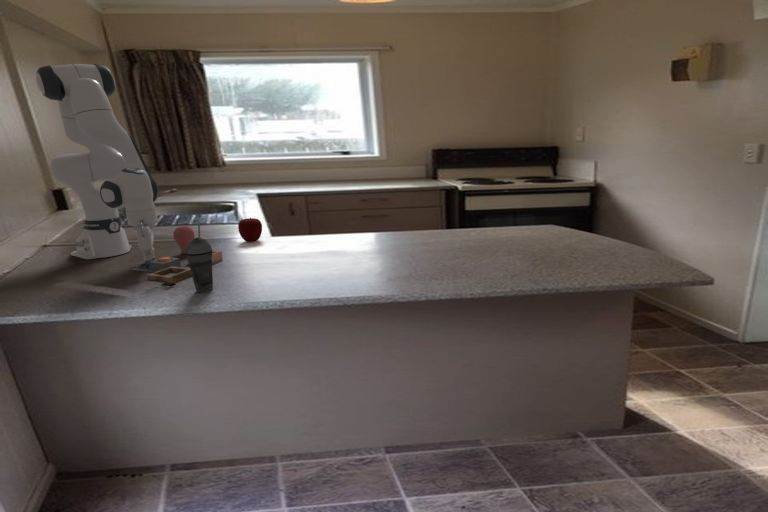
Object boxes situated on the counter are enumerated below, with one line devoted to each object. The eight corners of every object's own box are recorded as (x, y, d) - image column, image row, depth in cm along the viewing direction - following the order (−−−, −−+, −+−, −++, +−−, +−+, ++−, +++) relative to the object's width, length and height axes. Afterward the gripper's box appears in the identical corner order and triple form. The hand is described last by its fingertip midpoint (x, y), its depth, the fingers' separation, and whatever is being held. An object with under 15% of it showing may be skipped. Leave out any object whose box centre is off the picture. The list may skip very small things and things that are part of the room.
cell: (142, 266, 154) (139, 247, 152) (152, 264, 157) (149, 245, 156) (150, 267, 152) (147, 248, 151) (159, 264, 156) (156, 246, 154)
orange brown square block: (188, 267, 156) (186, 255, 155) (205, 261, 164) (204, 249, 162) (206, 270, 153) (204, 257, 152) (223, 263, 160) (221, 251, 159)
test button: (157, 266, 151) (155, 259, 150) (166, 263, 154) (164, 256, 154) (165, 267, 150) (163, 260, 149) (173, 264, 153) (172, 257, 152)
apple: (260, 243, 187) (257, 219, 184) (236, 244, 187) (233, 220, 184) (266, 238, 196) (263, 215, 193) (244, 239, 196) (241, 216, 193)
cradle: (131, 273, 152) (129, 261, 151) (156, 265, 161) (154, 253, 160) (162, 277, 147) (159, 265, 146) (186, 268, 156) (184, 256, 154)
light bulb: (190, 259, 167) (185, 227, 164) (173, 259, 168) (167, 227, 165) (201, 254, 174) (196, 223, 170) (184, 254, 175) (179, 223, 172)
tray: (148, 283, 141) (147, 274, 141) (173, 274, 150) (171, 266, 149) (170, 286, 138) (169, 277, 137) (194, 277, 146) (193, 268, 145)
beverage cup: (195, 286, 137) (185, 221, 131) (220, 285, 137) (211, 219, 132) (187, 295, 130) (176, 226, 124) (214, 293, 130) (203, 224, 125)
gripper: (152, 222, 143) (159, 264, 146) (153, 212, 161) (160, 250, 164) (129, 224, 140) (137, 267, 144) (133, 214, 158) (141, 253, 162)
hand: (149, 258), depth 154 cm, fingers closed on cell, 4 cm apart
